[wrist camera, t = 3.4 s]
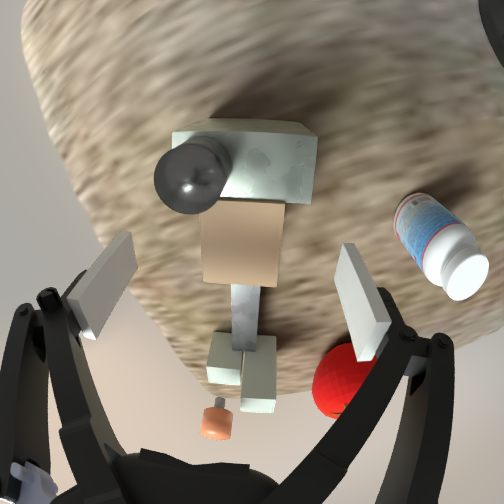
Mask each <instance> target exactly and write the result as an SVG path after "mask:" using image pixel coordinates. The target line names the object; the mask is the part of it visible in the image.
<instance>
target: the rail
mask: <svg viewBox="0 0 504 504" xmlns="http://www.w3.org/2000/svg"><path fill="white" fill-rule="evenodd" d="M172 144H173V149H171V150H170V151H168V152H167V153H165V154H164V155H163V156H162V157H161V159H160V160H159V162H158V163H157V166H156V168H155V172H154V185H155V189H156V191H157V194H158V196H159V197H160V199H161V200H162V201H163V202H164V203H165V204H166V205H167V206H168V207H169V208H171V209H172V210H174V211H176V212H179V213H183V214H199V213H202V212H204V211H207V210H208V209H210V208H211V207H212V206H213V205H214V204H215V203H216V202H217V201H218V199H235V200H254V201H271V202H285V203H298V204H311V196H312V188H313V180H314V172H315V163H316V154H317V144H318V137H317V136H316V135H315V134H314V133H312V132H311V131H310V130H309V129H307V128H306V127H305V126H303V125H302V124H301V123H300V122H293V121H281V120H266V119H242V118H208V119H205V120H203V121H200V122H197V123H194V124H192V125H189V126H186V127H184V128H181V129H179V130H176V131H174V132H172ZM259 300H260V286H249V285H235V284H231V312H232V350H234V351H247V352H256V339H257V326H258V313H259Z"/></svg>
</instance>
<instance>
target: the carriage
mask: <svg viewBox="0 0 504 504" xmlns="http://www.w3.org/2000/svg"><path fill="white" fill-rule="evenodd" d="M284 212H285V202H271V201H254V200H235V199H218V201H217V202H216V203H215V204H214V205H213V206H212V207H211V208H210V209H208V210H207V211H204V212H202V213H199V224H200V240H201V255H202V268H203V281H204V282H209V283H222V284H235V285H249V286H265V287H276V286H277V278H278V269H279V260H280V251H281V241H282V232H283V222H284Z"/></svg>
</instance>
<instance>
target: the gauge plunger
mask: <svg viewBox="0 0 504 504" xmlns="http://www.w3.org/2000/svg"><path fill="white" fill-rule="evenodd" d="M224 407H225V399H224V398H221V397H217V398H216V399H215V405H214V407H211V408H206V409H205V410H204V414H203V420H202V426H201V431H200V434H202V435H203V436H205V437H207V438H211V439H216V440H226V439H229V438H230V436H231V427H232V418H233V414H232V413H231V412H230V411H228V410H226V409H224Z"/></svg>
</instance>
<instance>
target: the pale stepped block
mask: <svg viewBox="0 0 504 504" xmlns="http://www.w3.org/2000/svg"><path fill="white" fill-rule="evenodd" d="M243 353H244V351H234V350H232V333H224V332H213V337H212V342H211V347H210V351H209V356H208V361H207V366H206V367H207V373H208V379H209V382H210V383H219V384H229V385H240V382H241V372H242V363H243ZM275 401H276V336H265V335H257V339H256V352H247V351H245V361H244V371H243V381H242V391H241V411H245V412H260V413H273V409H274V406H275Z"/></svg>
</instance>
